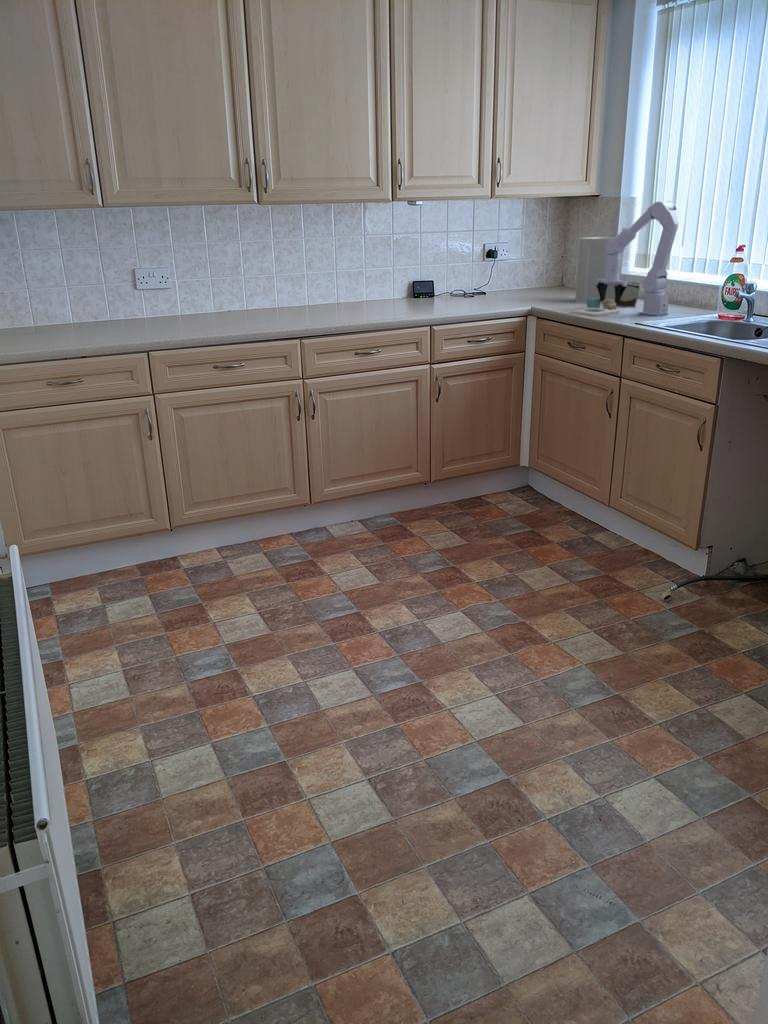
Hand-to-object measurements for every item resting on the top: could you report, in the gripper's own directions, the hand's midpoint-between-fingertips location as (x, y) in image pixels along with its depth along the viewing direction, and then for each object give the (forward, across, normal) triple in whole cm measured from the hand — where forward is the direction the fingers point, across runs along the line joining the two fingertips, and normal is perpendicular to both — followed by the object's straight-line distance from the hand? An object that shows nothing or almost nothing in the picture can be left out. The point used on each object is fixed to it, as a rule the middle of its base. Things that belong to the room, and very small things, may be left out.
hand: (609, 302), depth 361 cm
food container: (+3, +2, -16) cm, 16 cm away
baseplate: (+3, -3, +14) cm, 15 cm away
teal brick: (+3, +7, +2) cm, 8 cm away
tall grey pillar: (+3, +21, -18) cm, 28 cm away
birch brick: (+3, 0, 0) cm, 3 cm away
